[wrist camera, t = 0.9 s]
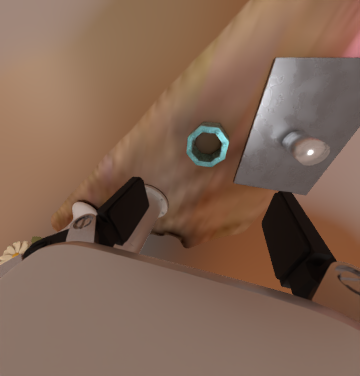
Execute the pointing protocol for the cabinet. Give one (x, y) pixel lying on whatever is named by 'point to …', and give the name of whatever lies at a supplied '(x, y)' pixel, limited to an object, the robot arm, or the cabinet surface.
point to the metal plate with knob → (301, 123)
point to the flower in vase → (19, 248)
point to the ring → (207, 158)
